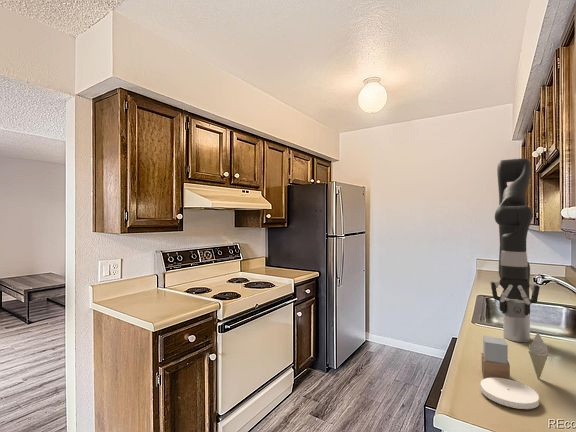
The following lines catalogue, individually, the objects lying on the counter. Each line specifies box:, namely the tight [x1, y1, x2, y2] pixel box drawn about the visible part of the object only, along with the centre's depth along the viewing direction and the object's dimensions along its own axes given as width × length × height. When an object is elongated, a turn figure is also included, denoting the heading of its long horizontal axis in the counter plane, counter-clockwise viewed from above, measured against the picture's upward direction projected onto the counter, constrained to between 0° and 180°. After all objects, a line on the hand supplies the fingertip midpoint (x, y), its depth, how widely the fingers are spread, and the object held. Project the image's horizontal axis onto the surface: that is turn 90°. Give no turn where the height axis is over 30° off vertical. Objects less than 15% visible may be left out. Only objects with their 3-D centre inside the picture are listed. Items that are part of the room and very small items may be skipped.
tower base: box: [481, 352, 511, 380], centre depth 105 cm, size 7×7×6 cm
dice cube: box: [502, 299, 525, 318], centre depth 112 cm, size 5×5×5 cm
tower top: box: [482, 335, 509, 365], centre depth 105 cm, size 6×6×6 cm
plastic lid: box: [479, 377, 540, 410], centre depth 93 cm, size 14×14×2 cm
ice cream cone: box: [528, 331, 549, 380], centre depth 104 cm, size 5×5×15 cm
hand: (514, 313), depth 111 cm, fingers closed on dice cube, 5 cm apart
